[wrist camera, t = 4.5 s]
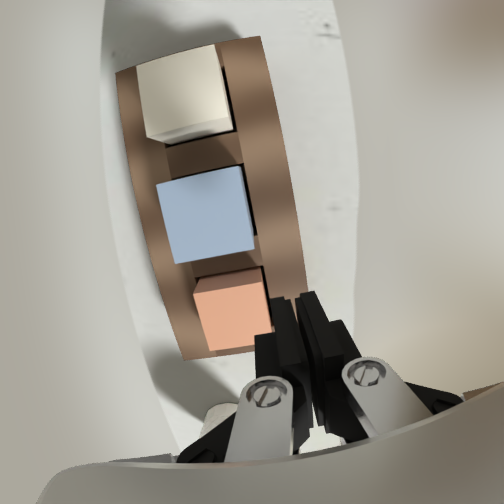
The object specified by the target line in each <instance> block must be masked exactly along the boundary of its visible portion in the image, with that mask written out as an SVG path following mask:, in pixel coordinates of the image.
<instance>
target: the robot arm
mask: <svg viewBox="0 0 504 504" xmlns="http://www.w3.org/2000/svg"><path fill="white" fill-rule="evenodd" d="M270 304H271V310H272V316H273V322H274V329H275V332H271V333H265V334H258V335H254V346H255V369H256V379H254V380H253V381H251V382H249V383H248V384H247V385H246V386H245V387H244V388H243V390H242V392H241V395H240V399H239V403H238V407H237V411H236V412H234V413H233V414H232V415H230V416H229V417H228V418H227V419H225V420H224V421H223V422H221V423H220V424H219V425H217V426H216V427H215V428H213V429H212V430H211V431H209V432H208V433H207V434H205V435H204V436H202V437H201V438H200V439H198V440H197V441H195V442H194V443H193V444H191V445H190V446H188V447H187V448H186V449H184V450H183V451H182V452H181V453H180V455H178V456H172V454H171V453H169V454H163V455H156V456H149V457H140V458H131V459H120V460H113V461H109V462H104V463H92V464H86V465H80V466H75V467H71V468H68V469H66V470H63V471H61V472H59V473H58V474H56V475H55V476H54V477H53V478H52V479H51V480H50V481H49V483H48V484H47V485H46V487H45V488H44V490H43V492H42V493H41V495H40V497H39V498H38V500H37V502H36V504H504V382H500V383H497V384H494V385H490V386H487V387H484V388H480V389H476V390H472V391H468V392H464V393H462V395H461V397H459V396H457V395H455V394H452V393H449V392H444V391H440V390H436V389H432V388H427V387H423V386H419V385H415V384H411V383H408V382H404V381H403V380H402V379H401V378H400V377H399V376H398V375H397V373H396V372H395V371H394V370H393V369H392V368H391V367H390V366H389V364H387V363H386V362H385V361H383V360H381V359H379V358H375V357H362V356H361V354H360V352H359V351H358V349H357V347H356V345H355V343H354V341H353V339H352V338H351V336H350V334H349V332H348V330H347V328H346V326H345V325H344V323H343V321H342V320H336V321H331V322H329V320H328V318H327V316H326V314H325V312H324V310H323V308H322V306H321V304H320V302H319V300H318V298H317V295H316V293H315V291H310V292H304V293H300V297H298V298H295V307H296V315H297V320H296V316H295V313H294V309H293V306H292V303H291V299H287V300H285V298H284V296H282V297H276V298H270ZM312 403H313V407H314V411H315V415H316V420H317V424H318V426H323V425H324V427H325V431H326V434H327V433H332V434H335V435H337V436H339V437H340V442H341V446H337V447H332V448H328V449H323V450H318V451H313V452H308V453H302V454H300V446H301V445H302V444H303V443H304V442H305V441H306V440H307V439H308V438H309V437H310V433H309V428H313V410H312Z"/></svg>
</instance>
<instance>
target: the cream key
mask: <svg viewBox="0 0 504 504" xmlns="http://www.w3.org/2000/svg"><path fill="white" fill-rule="evenodd" d="M136 68H137V76H138V84H139V91H140V98H141V105H142V111H143V118H144V124H145V130H146V135H147V137H148V138H151V139H154V140H158V141H161V142H164V143H167V144H170V145H173V144H177V143H181V142H185V141H189V140H193V139H197V138H201V137H206V136H210V135H215V134H219V133H224V132H229V131H234V130H233V125H232V120H231V115H230V110H229V105H228V100H227V95H226V90H225V85H224V80H223V75H222V71H221V67H220V64H219V60H218V57H217V53H216V50H215V46H214V44H213V45H208V46H204V47H199V48H195V49H191V50H187V51H183V52H180V53H176V54H172V55H169V56H165V57H162V58H159V59H156V60H152V61H149V62H146V63H143V64H140V65H137V66H136Z"/></svg>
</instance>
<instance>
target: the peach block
mask: <svg viewBox="0 0 504 504" xmlns="http://www.w3.org/2000/svg"><path fill="white" fill-rule="evenodd" d="M193 296H194V299H195V303H196V306H197V310H198V313H199V317H200V320H201V324H202V327H203V330H204V334H205V337H206V340H207V343H208V346H209V350H210V351H214V350H222V349H229V348H235V347H242V346H248V345H254V335H258V334H265V333H271V332H272V329H271V321H270V314H269V307H268V302H267V297H266V291H265V286H264V281H263V276H262V271H261V265H260V266H255V267H250V268H244V269H239V270H233V271H228V272H222V273H217V274H211V275H206V276H201V277H200V279H199V281H198V284H197V286H196V288H195V290H194V293H193Z"/></svg>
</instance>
